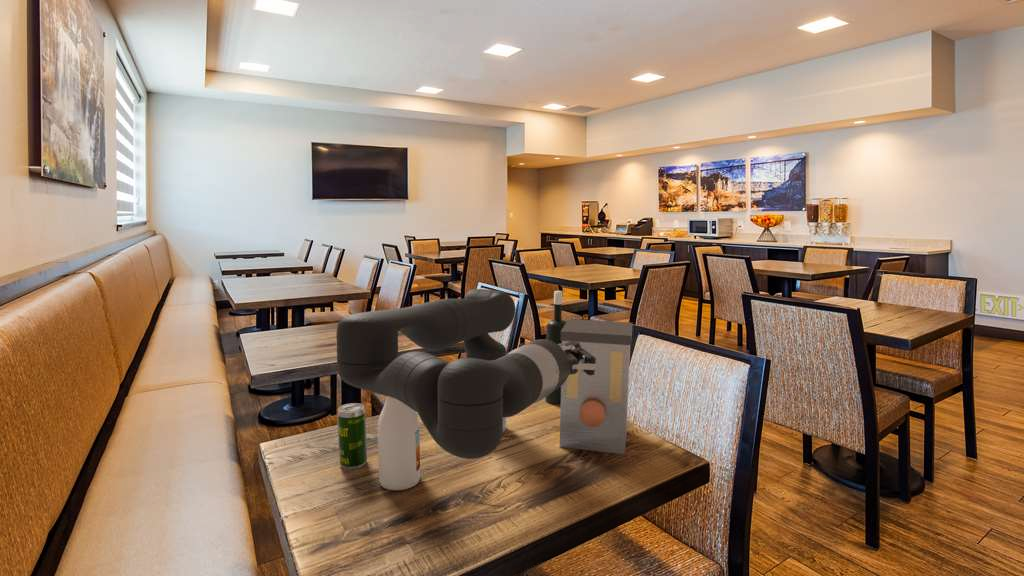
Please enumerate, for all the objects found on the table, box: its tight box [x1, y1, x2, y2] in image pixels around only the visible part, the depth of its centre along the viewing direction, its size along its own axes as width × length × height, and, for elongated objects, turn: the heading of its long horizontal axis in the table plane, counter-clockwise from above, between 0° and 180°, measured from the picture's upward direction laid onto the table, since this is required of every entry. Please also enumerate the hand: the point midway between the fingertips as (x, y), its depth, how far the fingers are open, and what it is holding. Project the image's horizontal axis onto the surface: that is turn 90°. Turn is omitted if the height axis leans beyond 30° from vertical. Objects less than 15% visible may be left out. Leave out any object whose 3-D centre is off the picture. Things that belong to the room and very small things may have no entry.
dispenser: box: [559, 318, 633, 455], centre depth 120 cm, size 13×15×26 cm
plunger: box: [579, 400, 605, 427], centre depth 119 cm, size 14×5×5 cm, turn 166°
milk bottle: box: [377, 396, 421, 492], centre depth 102 cm, size 8×8×20 cm
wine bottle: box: [544, 290, 567, 405], centre depth 143 cm, size 6×6×30 cm
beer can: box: [336, 402, 368, 471], centre depth 109 cm, size 5×5×12 cm
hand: (575, 347), depth 88 cm, fingers closed
